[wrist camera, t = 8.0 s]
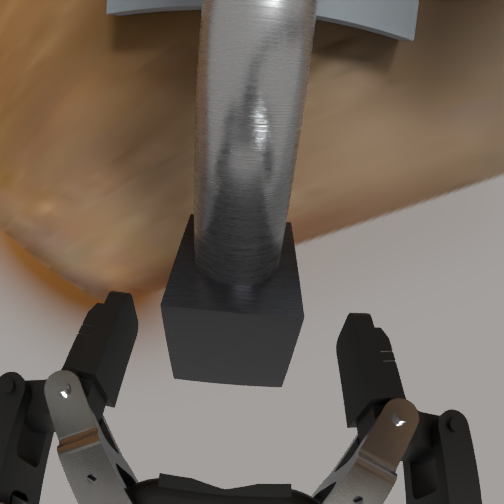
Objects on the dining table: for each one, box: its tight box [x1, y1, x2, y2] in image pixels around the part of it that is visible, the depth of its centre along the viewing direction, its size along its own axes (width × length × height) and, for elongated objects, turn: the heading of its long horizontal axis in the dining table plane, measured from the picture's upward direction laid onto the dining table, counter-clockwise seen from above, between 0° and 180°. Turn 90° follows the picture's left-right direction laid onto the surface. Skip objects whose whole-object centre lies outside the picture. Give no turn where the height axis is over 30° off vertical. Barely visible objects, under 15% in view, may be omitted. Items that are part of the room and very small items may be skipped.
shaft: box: [161, 0, 318, 387], centre depth 8 cm, size 4×17×5 cm, turn 175°
